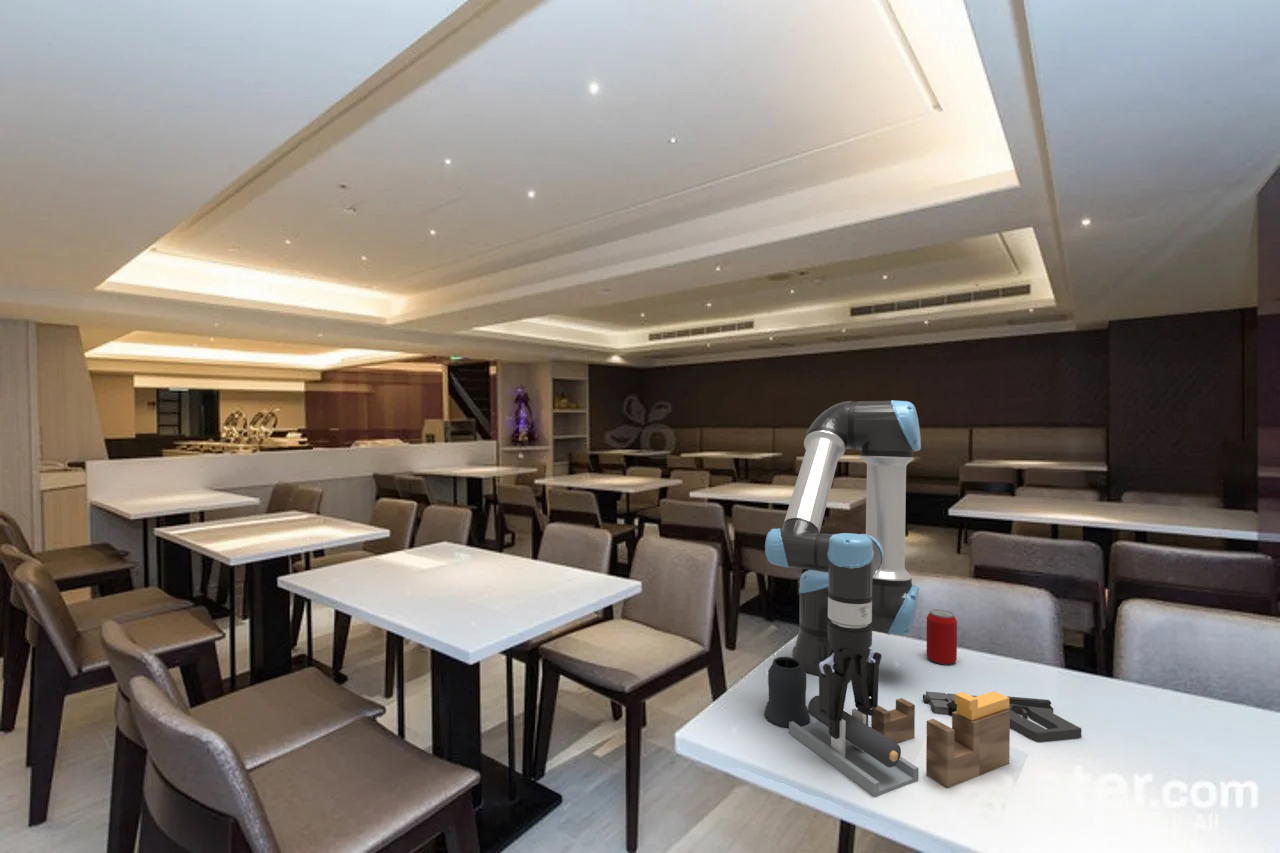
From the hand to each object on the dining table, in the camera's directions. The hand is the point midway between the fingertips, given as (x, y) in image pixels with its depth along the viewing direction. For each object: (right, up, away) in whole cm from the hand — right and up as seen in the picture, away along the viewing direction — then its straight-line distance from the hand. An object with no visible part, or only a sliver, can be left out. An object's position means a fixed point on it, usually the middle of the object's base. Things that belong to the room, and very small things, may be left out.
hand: (848, 750), depth 106 cm
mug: (-7, -1, +15) cm, 17 cm away
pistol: (+35, -1, +12) cm, 37 cm away
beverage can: (+38, 0, +41) cm, 56 cm away
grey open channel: (0, -1, 0) cm, 1 cm away
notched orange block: (+23, +9, -3) cm, 24 cm away
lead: (0, +2, 0) cm, 2 cm away
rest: (+10, -1, +6) cm, 12 cm away
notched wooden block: (+19, -1, -4) cm, 20 cm away
